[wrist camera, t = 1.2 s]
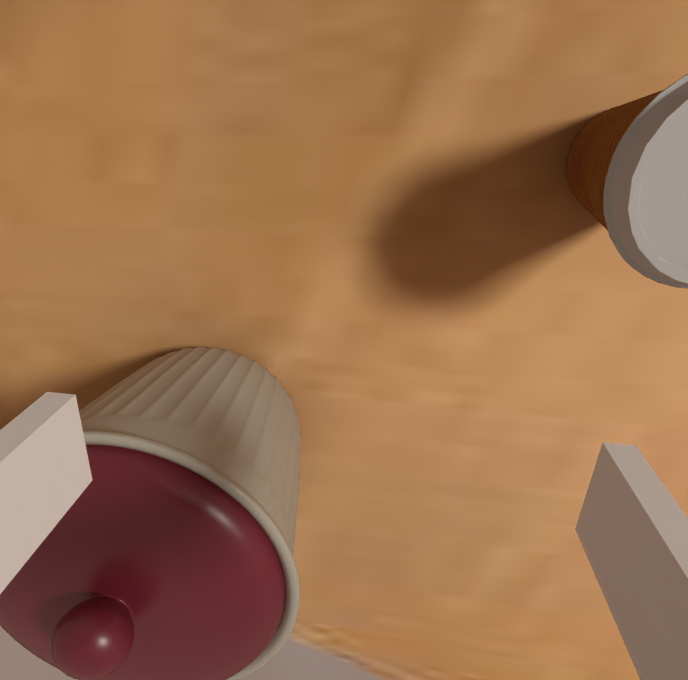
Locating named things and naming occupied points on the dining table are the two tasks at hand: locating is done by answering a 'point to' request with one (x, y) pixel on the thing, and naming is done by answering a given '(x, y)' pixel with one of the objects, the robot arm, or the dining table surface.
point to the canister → (172, 530)
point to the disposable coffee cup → (639, 180)
